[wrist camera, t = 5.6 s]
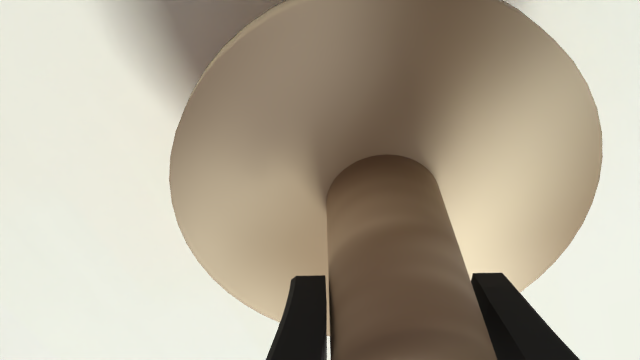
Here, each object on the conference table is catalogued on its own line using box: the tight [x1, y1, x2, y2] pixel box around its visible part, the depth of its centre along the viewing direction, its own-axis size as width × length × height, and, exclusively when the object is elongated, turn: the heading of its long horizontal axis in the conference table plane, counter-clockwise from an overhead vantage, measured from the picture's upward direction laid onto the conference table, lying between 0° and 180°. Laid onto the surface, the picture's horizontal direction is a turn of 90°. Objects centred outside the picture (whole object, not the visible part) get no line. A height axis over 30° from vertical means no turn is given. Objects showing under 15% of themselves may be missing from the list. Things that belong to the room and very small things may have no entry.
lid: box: [169, 0, 602, 360], centre depth 11 cm, size 10×10×6 cm
